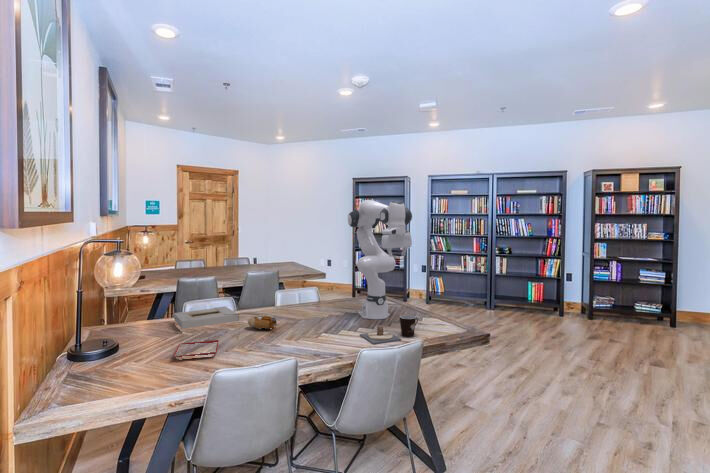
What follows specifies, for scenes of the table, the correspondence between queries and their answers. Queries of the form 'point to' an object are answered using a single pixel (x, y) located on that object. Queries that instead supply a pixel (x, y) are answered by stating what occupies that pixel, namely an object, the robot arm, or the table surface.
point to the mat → (380, 340)
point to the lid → (380, 334)
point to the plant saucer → (200, 353)
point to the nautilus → (263, 321)
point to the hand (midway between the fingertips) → (397, 256)
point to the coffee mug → (408, 325)
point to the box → (205, 317)
